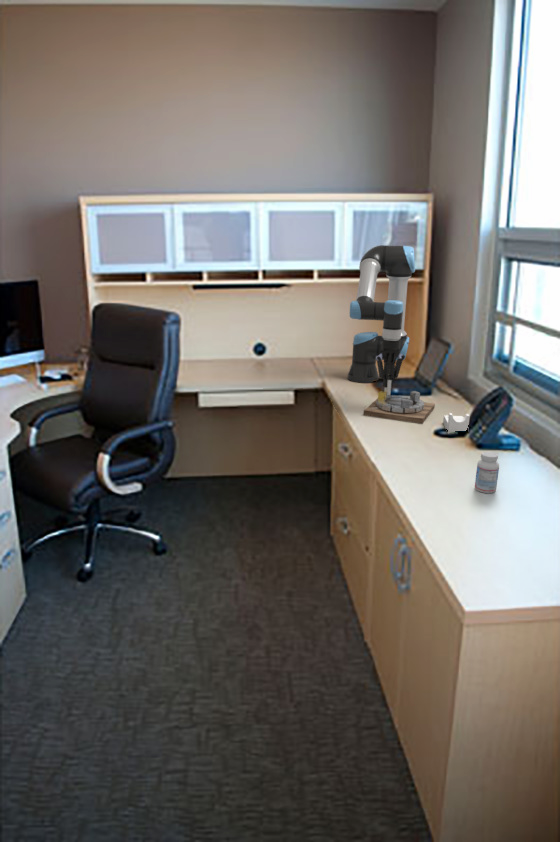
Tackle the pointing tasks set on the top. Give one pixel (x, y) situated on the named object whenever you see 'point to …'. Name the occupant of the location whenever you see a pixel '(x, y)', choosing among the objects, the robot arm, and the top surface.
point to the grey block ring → (405, 403)
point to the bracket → (456, 422)
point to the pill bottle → (487, 473)
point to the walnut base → (410, 417)
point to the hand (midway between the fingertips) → (387, 394)
